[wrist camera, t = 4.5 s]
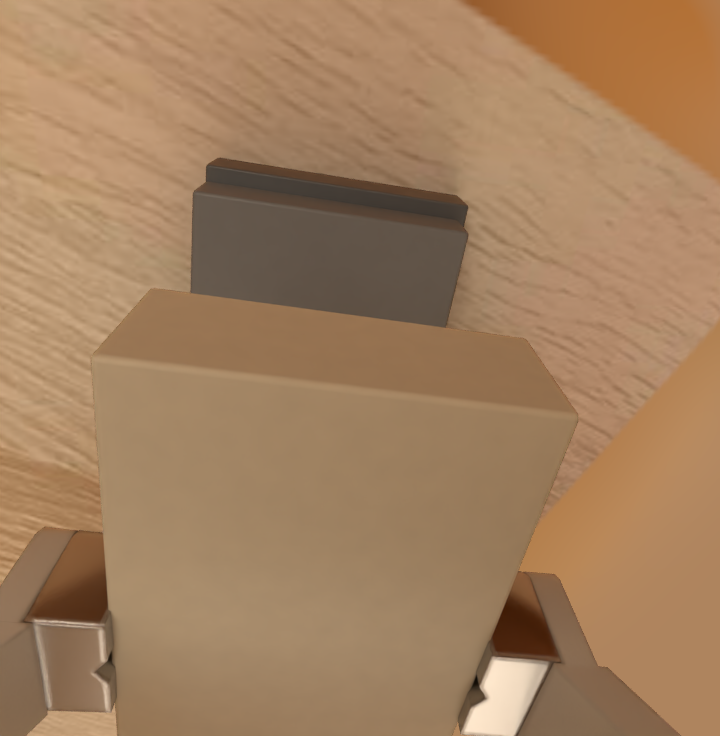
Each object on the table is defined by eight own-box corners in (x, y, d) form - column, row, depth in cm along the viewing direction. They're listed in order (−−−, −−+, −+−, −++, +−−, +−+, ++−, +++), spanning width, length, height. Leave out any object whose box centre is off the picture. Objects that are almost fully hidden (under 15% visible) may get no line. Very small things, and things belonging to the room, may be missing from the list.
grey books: (217, 157, 16) (192, 172, 13) (458, 195, 16) (481, 218, 14) (205, 448, 20) (185, 504, 18) (395, 468, 21) (404, 525, 18)
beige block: (150, 285, 7) (86, 354, 5) (527, 337, 8) (583, 416, 6) (156, 709, 11) (122, 829, 9) (401, 725, 12) (411, 840, 10)
